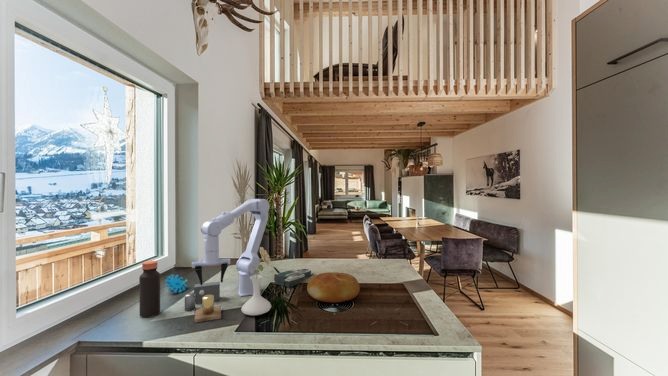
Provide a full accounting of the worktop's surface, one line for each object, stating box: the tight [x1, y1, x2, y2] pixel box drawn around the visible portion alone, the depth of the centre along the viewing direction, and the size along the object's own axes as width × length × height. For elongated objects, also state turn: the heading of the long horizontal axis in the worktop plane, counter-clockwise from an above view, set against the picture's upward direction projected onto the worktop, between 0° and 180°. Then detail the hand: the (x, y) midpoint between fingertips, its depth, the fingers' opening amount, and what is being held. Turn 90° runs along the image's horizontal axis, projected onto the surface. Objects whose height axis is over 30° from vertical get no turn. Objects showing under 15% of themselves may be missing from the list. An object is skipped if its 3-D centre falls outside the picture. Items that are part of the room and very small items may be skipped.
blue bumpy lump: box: [164, 274, 188, 294], centre depth 135 cm, size 11×6×10 cm
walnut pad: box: [193, 305, 222, 323], centre depth 109 cm, size 9×9×1 cm
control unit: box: [193, 281, 221, 304], centre depth 123 cm, size 10×5×7 cm, turn 112°
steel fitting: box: [184, 292, 197, 312], centre depth 114 cm, size 4×4×6 cm
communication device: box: [273, 266, 312, 288], centre depth 151 cm, size 12×24×9 cm, turn 149°
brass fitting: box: [201, 295, 215, 315], centre depth 109 cm, size 4×4×6 cm
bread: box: [306, 271, 361, 304], centre depth 129 cm, size 23×23×10 cm
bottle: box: [138, 260, 161, 318], centre depth 110 cm, size 7×7×20 cm
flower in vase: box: [240, 246, 272, 316], centre depth 113 cm, size 13×11×25 cm
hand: (211, 283), depth 118 cm, fingers open, 7 cm apart
